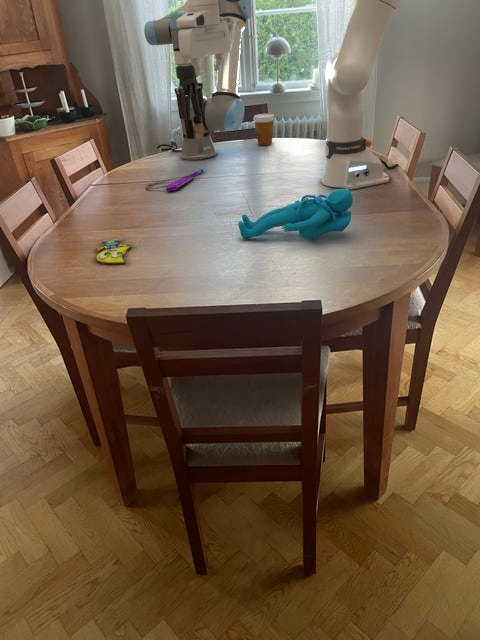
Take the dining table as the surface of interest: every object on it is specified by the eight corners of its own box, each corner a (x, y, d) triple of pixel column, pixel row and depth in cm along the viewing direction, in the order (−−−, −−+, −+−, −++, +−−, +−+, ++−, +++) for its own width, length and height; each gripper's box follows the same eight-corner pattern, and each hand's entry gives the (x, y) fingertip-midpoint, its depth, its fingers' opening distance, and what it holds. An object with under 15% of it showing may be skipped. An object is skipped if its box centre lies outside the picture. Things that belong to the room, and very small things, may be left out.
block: (193, 136, 177) (191, 123, 175) (203, 136, 175) (202, 123, 173) (186, 138, 174) (184, 125, 172) (196, 139, 172) (195, 126, 170)
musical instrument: (142, 197, 170) (197, 185, 167) (141, 191, 169) (195, 179, 166) (155, 181, 191) (204, 170, 188) (154, 176, 190) (202, 165, 187)
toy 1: (135, 237, 135) (125, 260, 122) (135, 240, 135) (125, 263, 123) (99, 239, 135) (85, 263, 122) (100, 242, 135) (86, 266, 123)
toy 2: (244, 202, 136) (351, 176, 125) (255, 236, 141) (358, 213, 131) (231, 226, 122) (349, 198, 112) (243, 263, 127) (358, 239, 117)
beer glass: (276, 145, 214) (274, 116, 208) (254, 146, 215) (253, 118, 208) (274, 140, 222) (273, 112, 216) (254, 141, 223) (252, 114, 216)
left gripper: (192, 62, 170) (200, 131, 182) (161, 68, 158) (171, 141, 170) (210, 61, 166) (216, 132, 179) (179, 67, 154) (188, 143, 167)
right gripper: (216, 16, 143) (220, 68, 151) (172, 21, 130) (179, 78, 137) (233, 15, 140) (237, 68, 148) (190, 19, 126) (196, 78, 134)
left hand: (194, 136), depth 175 cm, fingers closed on block, 4 cm apart
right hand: (209, 73), depth 142 cm, fingers open, 8 cm apart
